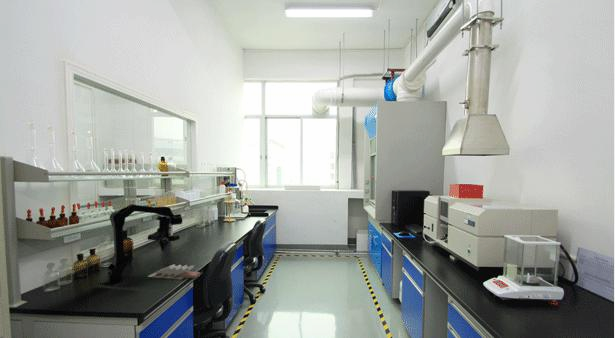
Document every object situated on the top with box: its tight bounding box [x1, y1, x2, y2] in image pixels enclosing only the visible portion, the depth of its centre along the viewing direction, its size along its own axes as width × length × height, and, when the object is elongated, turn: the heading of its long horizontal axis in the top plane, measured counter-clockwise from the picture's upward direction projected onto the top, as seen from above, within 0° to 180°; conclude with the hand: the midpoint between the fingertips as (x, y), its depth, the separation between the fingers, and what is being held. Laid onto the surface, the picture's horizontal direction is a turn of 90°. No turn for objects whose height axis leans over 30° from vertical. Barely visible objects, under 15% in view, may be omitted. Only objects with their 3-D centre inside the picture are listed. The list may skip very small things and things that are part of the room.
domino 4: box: [174, 264, 195, 276], centre depth 150 cm, size 2×5×10 cm
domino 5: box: [180, 270, 201, 279], centre depth 149 cm, size 2×5×10 cm
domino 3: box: [167, 264, 189, 276], centre depth 150 cm, size 2×5×10 cm
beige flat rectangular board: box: [147, 272, 185, 280], centre depth 151 cm, size 22×11×1 cm, turn 81°
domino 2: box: [161, 264, 183, 275], centre depth 151 cm, size 2×5×10 cm
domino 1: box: [154, 263, 176, 275], centre depth 152 cm, size 2×5×10 cm
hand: (163, 250), depth 160 cm, fingers closed
